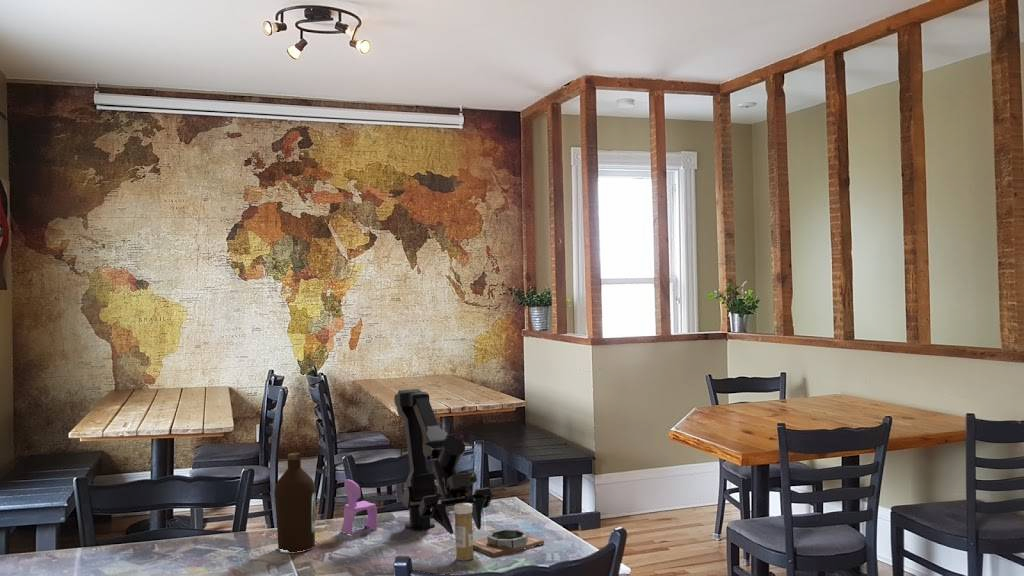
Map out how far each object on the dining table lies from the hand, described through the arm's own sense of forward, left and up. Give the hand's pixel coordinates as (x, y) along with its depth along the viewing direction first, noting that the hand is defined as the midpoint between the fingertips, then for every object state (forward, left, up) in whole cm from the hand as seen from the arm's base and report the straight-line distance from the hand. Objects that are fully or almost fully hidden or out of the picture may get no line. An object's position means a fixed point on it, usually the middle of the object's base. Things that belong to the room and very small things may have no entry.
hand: (466, 531), depth 210 cm
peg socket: (-2, +14, -7) cm, 16 cm away
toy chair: (-42, -9, -7) cm, 44 cm away
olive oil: (-38, -29, -7) cm, 49 cm away
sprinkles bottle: (-1, 0, -7) cm, 7 cm away
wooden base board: (-3, +14, -7) cm, 16 cm away
